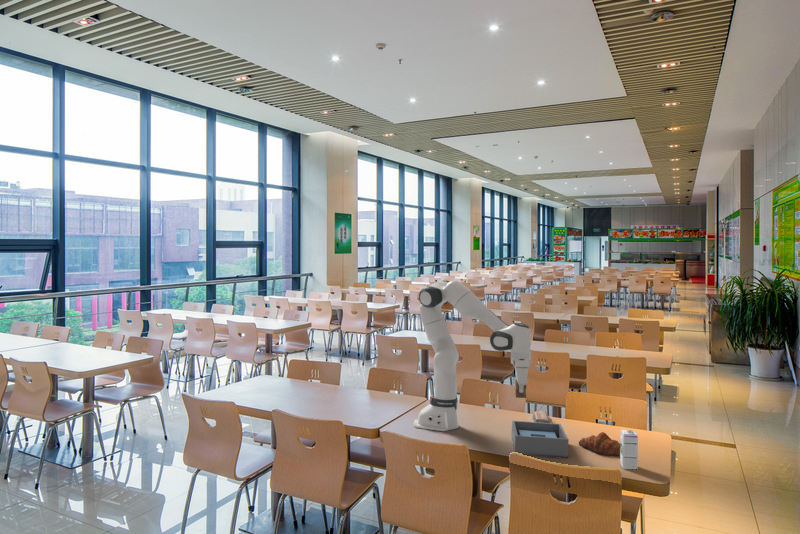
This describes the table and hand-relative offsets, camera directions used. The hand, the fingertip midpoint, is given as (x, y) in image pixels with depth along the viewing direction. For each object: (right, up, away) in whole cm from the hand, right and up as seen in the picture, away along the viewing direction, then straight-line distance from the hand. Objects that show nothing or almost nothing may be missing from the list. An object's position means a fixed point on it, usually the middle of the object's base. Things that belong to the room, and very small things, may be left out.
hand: (520, 390), depth 240 cm
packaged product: (+19, -26, +37) cm, 49 cm away
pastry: (+36, -27, -2) cm, 45 cm away
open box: (+8, -25, 0) cm, 26 cm away
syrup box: (+39, -27, -21) cm, 52 cm away
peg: (0, -3, 0) cm, 3 cm away
